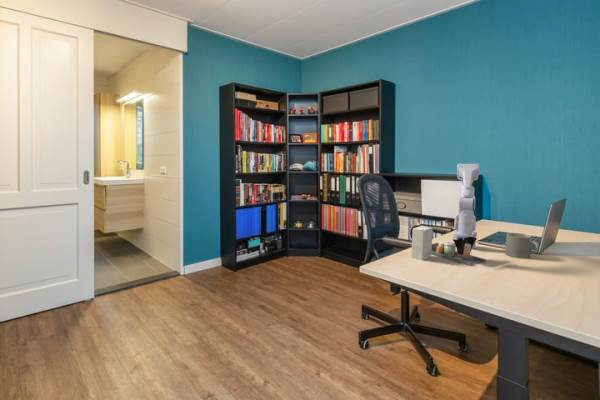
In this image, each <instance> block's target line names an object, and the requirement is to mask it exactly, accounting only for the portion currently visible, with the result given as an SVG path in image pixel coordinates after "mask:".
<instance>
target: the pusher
mask: <svg viewBox="0 0 600 400" xmlns="http://www.w3.org/2000/svg"><path fill="white" fill-rule="evenodd" d="M436 253H440V254H444V243H441V244H440V245H439V246H437V251H436Z"/></svg>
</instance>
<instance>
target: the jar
mask: <svg viewBox="0 0 600 400" xmlns="http://www.w3.org/2000/svg"><path fill="white" fill-rule="evenodd" d="M471 252H472V250H471V244H468V243H465V246H464V251H463V255H460V254H458V257H460V258H470V255H471Z"/></svg>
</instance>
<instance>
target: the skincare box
mask: <svg viewBox="0 0 600 400" xmlns="http://www.w3.org/2000/svg"><path fill="white" fill-rule="evenodd" d="M411 234H412V237H411V252H410V253H411V254H410V255H411V256H410V258H411V259H415V260H419V261H425V260H428V259H430V258H432V255H431V251H432V244H433V227H430V226H425V225H420V226H417V227H414V228H412V232H411Z"/></svg>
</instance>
